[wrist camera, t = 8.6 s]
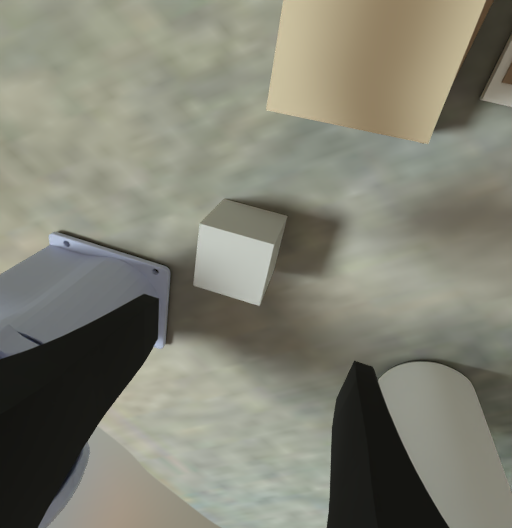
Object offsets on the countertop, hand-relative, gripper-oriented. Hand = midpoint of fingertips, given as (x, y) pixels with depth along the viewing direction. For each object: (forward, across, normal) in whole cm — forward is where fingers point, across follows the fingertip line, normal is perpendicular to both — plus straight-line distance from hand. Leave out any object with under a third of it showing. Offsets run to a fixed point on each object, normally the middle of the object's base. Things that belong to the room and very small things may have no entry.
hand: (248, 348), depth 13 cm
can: (+11, -12, +10) cm, 18 cm away
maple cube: (+8, -1, -10) cm, 13 cm away
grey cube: (+10, +3, +1) cm, 11 cm away
